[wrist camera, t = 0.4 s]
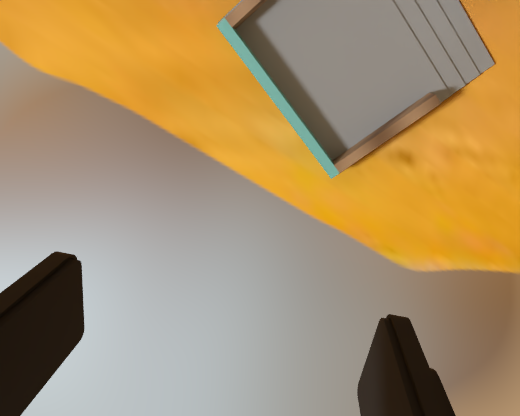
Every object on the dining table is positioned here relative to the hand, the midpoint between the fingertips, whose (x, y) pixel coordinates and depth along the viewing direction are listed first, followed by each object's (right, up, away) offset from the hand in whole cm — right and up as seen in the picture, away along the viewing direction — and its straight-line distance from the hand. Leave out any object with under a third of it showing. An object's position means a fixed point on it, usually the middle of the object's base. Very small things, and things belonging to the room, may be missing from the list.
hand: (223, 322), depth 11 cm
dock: (+10, +19, +24) cm, 32 cm away
